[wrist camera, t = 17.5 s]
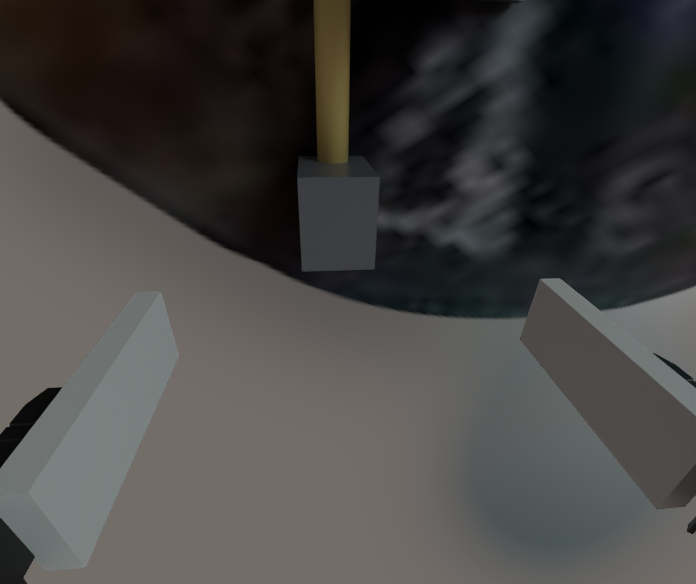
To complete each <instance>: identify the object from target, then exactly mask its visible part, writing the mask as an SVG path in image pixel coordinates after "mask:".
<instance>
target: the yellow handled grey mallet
mask: <svg viewBox="0 0 696 584" xmlns="http://www.w3.org/2000/svg"><path fill="white" fill-rule="evenodd" d="M350 15H351V0H314V39H315V81H316V123H317V156H299V159H298V173H297V183H298V203H299V222H300V242H301V261H302V271H333V270H365V269H374V267H375V250H376V234H377V217H378V200H379V183H380V177H379V175H378V174H377V173H376V172H375V170H374V169H373V168H372V167H371V166H370V164H369V163H368V162H367V161H366V159H365V158H364V157H363V156H348V135H349V75H350Z"/></svg>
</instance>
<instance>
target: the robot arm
mask: <svg viewBox="0 0 696 584" xmlns="http://www.w3.org/2000/svg"><path fill="white" fill-rule="evenodd" d="M520 340H521V341H522V343H523V344H524V345H525V346H526V348H527V349H528V350H529V351H530V353H531V354H532V355H533V356H534V358H535V359H536V360H537V361H538V363H539V364H540V365H541V366H542V367H543V369H544V370H545V371H546V372H547V373H548V375H549V376H550V377H551V379H552V380H553V381H554V382H555V384H556V385H557V386H558V387H559V389H560V390H561V391H562V392H563V394H564V395H565V396H566V397H567V398H568V400H569V401H570V402H571V403H572V405H573V406H574V407H575V408H576V410H577V411H578V412H579V413H580V415H581V416H582V417H583V418H584V420H585V421H586V422H587V423H588V425H589V426H590V427H591V428H592V430H593V431H594V432H595V433H596V434H597V436H598V437H599V438H600V439H601V441H602V442H603V443H604V444H605V446H606V447H607V448H608V449H609V451H610V452H611V453H612V454H613V456H614V457H615V458H616V459H617V461H618V462H619V463H620V464H621V466H622V467H623V468H624V469H625V471H626V472H627V473H628V474H629V475H630V477H631V478H632V479H633V480H634V482H635V483H636V484H637V485H638V487H639V488H640V489H641V490H642V492H643V493H644V494H645V495H646V497H647V498H648V499H649V500H650V501H651V503H652V504H653V505H654V506H655V508H656V509H665V508H674V507H684V506H686V505H687V504H688V503H689V502H690V500H691V499H692V498H693V497H694V496H695V495H696V382H694V381H693V378H691V377H690V376H689V375H688V374H687V373H685V372H684V371H683V370H682V369H680V368H679V367H678V366H676V365H675V364H673V363H671V362H669V361H668V360H666V359H664V358H662V357H660V356H658V355H656V354H655V353H652V352H650V351H649V350H648V349H647V348H645V347H644V346H643V345H642V344H640V343H639V342H638V341H637V340H636V339H634V338H633V337H632V336H631V335H629V334H628V333H627V332H626V331H624V330H623V329H622V328H620V327H619V326H618V325H617V324H616V323H614V322H613V321H612V320H611V319H610V318H608V317H607V316H606V315H604V314H603V313H602V312H601V311H600V310H598V309H597V308H596V307H595V306H593V305H592V304H591V303H590V302H588V301H587V300H586V299H585V298H584V297H582V296H581V295H580V294H579V293H577V292H576V291H575V290H574V289H572V288H571V287H570V286H569V285H567V284H566V283H565V282H564V281H562V280H561V279H560V278H559V279H540V281H539V284H538V287H537V290H536V293H535V296H534V299H533V302H532V305H531V308H530V310H529V313H528V316H527V319H526V323H525V325H524V328H523V332H522V334H521V337H520ZM178 358H179V354H178V350H177V347H176V343H175V340H174V336H173V333H172V329H171V326H170V322H169V319H168V315H167V312H166V308H165V305H164V301H163V298H162V294H161V292H160V291H159V292H136V293H135V294H134V295H133V297H132V298H131V300H130V301H129V302H128V303H127V305H126V306H125V307H124V308H123V310H122V311H121V312H120V314H119V315H118V316H117V318H116V319H115V320H114V322H113V323H112V324H111V325H110V327H109V328H108V329H107V331H106V332H105V333H104V334H103V336H102V337H101V338H100V340H99V341H98V342H97V344H96V345H95V346H94V347H93V349H92V350H91V351H90V353H89V354H88V355H87V357H86V358H85V359H84V360H83V362H82V363H81V364H80V366H79V367H78V368H77V370H76V371H75V372H74V373H73V375H72V376H71V377H70V379H69V380H68V381H67V382H66V384H65V385H64V387H61V388H60V387H59V388H47V389H46V390H45V391H43V392H42V393H41V394H39V395H38V396H37V397H35V398H34V399H33V400H31V401H30V402H28V403H27V404H26V405H25V406H24V407H23V408H22V409H21V411H20V412H19V413H18V414H17V415H16V417H15V418H14V419H13V420H12V422H11V423H10V426H9V427H6V428H5V430H4V431H3V432H2V433H1V434H0V584H27V583H26V581H25V580H24V578H23V577H24V575H25V574H26V572H27V570H28V568H29V566H30V565H31V563H32V561H33V559H34V558H35V560H36V561H37V562H38V563H39V564H40V565H41V566H42V567H43V568H44V570H45V571H55V570H65V569H74V568H84V567H86V565H87V563H88V560H89V558H90V556H91V553H92V551H93V549H94V547H95V545H96V542H97V540H98V538H99V536H100V533H101V531H102V529H103V527H104V524H105V522H106V520H107V518H108V515H109V513H110V511H111V508H112V506H113V504H114V502H115V499H116V497H117V495H118V493H119V491H120V488H121V486H122V484H123V482H124V479H125V477H126V475H127V472H128V470H129V468H130V466H131V464H132V461H133V459H134V457H135V455H136V452H137V450H138V447H139V446H140V443H141V441H142V439H143V437H144V434H145V432H146V430H147V427H148V425H149V423H150V421H151V419H152V416H153V414H154V412H155V409H156V407H157V405H158V403H159V401H160V398H161V396H162V394H163V391H164V389H165V387H166V385H167V383H168V380H169V378H170V376H171V374H172V371H173V369H174V367H175V364H176V362H177V360H178ZM695 531H696V517H695V518H694V519H693V520H692V521H691V522H690V523H689V524H688V528H687V532H689V533H691V534H693V533H694V532H695Z"/></svg>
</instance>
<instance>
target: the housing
mask: <svg viewBox="0 0 696 584" xmlns="http://www.w3.org/2000/svg"><path fill="white" fill-rule="evenodd" d="M474 1H477V2H498V3H519V2H521V1H524V0H474Z"/></svg>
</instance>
